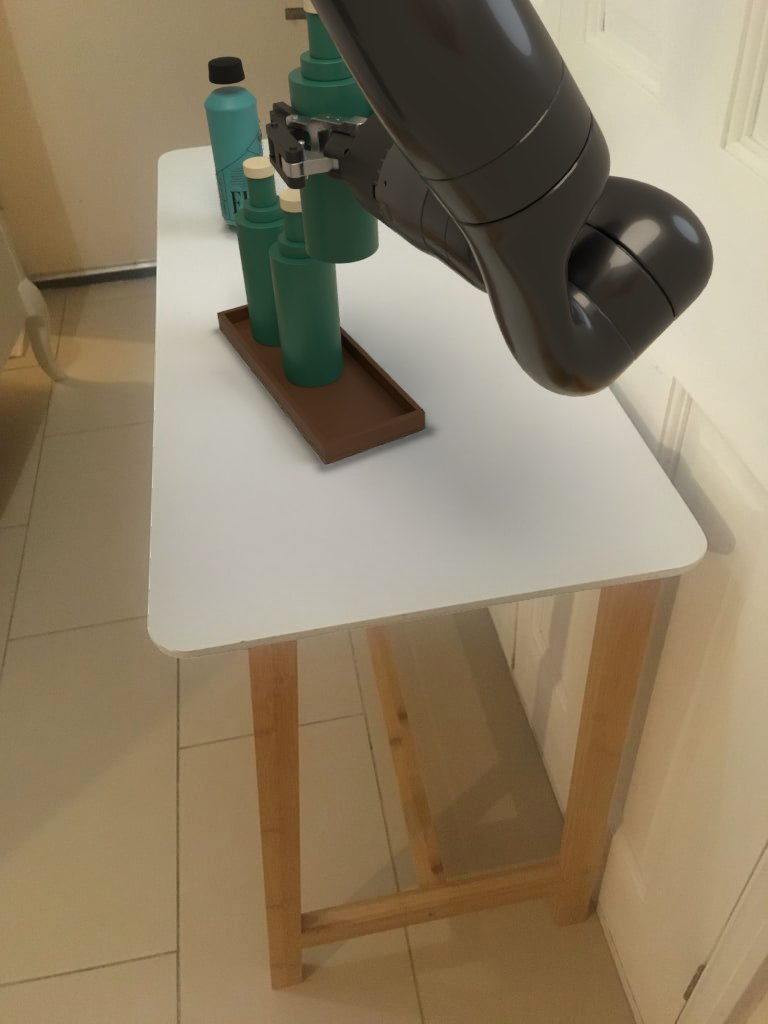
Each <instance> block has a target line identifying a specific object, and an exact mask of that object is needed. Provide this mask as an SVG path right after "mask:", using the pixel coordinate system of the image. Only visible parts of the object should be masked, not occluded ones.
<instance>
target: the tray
mask: <svg viewBox="0 0 768 1024" xmlns="http://www.w3.org/2000/svg"><path fill="white" fill-rule="evenodd" d="M216 316H217V322H218V326H219V330H220V331H221V332H222V334H223V335H224V337H226V339H227V340H228V342H230V344H231V345H232V347H233V348H234V349H235V350H236V352H237V353H238V354H239V355H240V357H241V358H242V359H243V361H244V362H245V363H246V365H247V366H248V367H249V368H250V370H251V371H252V372H253V374H254V375H255V376H256V377H257V379H258V380H259V381H260V382H261V383H262V385H263V386H264V388H265V389H266V390H267V392H269V394H270V395H271V397H272V398H273V399H274V400H275V402H276V403H277V404H278V405H279V407H280V408H281V409H282V411H283V412H284V413H285V414H286V416H287V417H288V418H289V420H290V421H291V422H292V424H293V425H294V427H296V428H297V430H298V432H300V433H301V435H302V436H303V437H304V439H305V440H306V442H308V444H309V445H310V446H311V447H312V448H313V450H314V451H315V453H316V454H317V455H318V457H319V458H320V459H321V460H322V461H323V463H324V464H325V465H329V464H331V463H334V462H337V461H339V460H342V459H345V458H348V457H351V456H353V455H356V454H359V453H361V452H364V451H368V450H370V449H373V448H375V447H378V446H382V445H384V444H386V443H389V442H393V441H395V440H397V439H401V438H404V437H406V436H409V435H411V434H414V433H417V432H420V431H422V430H425V429H426V411H425V409H423V408H422V406H421V405H419V404H418V403H417V402H416V401H415V399H414V398H412V397H411V395H410V394H408V392H407V391H406V390H404V388H402V387H401V385H400V384H399V383H398V382H397V381H396V380H395V379H394V378H393V377H391V375H390V374H389V373H388V372H387V371H386V370H385V369H384V367H383V368H382V366H381V365H380V364H379V363H378V362H377V361H376V360H375V359H374V358H373V357H372V356H371V355H370V354H369V353H368V352H367V351H366V350H365V349H364V348H363V347H362V346H361V345H360V344H359V343H358V342H357V341H356V340H355V339H354V338H353V337H352V336H351V335H350V334H349V333H348V331H346V330H345V329H344V327H342V326H341V325H340V332H341V346H342V359H343V372H342V374H341V376H340V377H339V378H338V379H337V380H336V381H334V382H332V383H330V384H327V385H324V386H320V387H302V386H298V385H295V384H293V383H291V382H290V381H288V380H287V378H286V377H285V375H284V367H283V359H282V352H281V347H270V346H265V345H262V344H260V343H258V342H256V341H255V340H254V338H253V336H252V330H251V324H250V317H249V310H248V304H247V303H246V304H243V305H240V306H236V307H232V308H229V309H226V310H222V311H218V312H216Z"/></svg>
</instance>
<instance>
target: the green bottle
mask: <svg viewBox="0 0 768 1024" xmlns="http://www.w3.org/2000/svg"><path fill="white" fill-rule="evenodd" d="M302 5H303V11H304V12H305V16H306V28H307V40H308V50H306V51H304V52H302V53H301V54H300V55H299V64H300V66H298V67H295V68H293V69H292V70H291V71H290V72H289V73H288V74H287V76H288V77H287V80H288V81H287V82H288V90H289V101H290V106H291V107H292V108H293V109H295V110H296V111H298V112H299V113H301V114H302V116H307V117H311V118H313V117H315V116H317V115H319V114H322V113H327V114H332V115H336V116H341V117H346V118H352V117H354V116H359V117H364V118H368V117H370V116H371V115H372V114H373V110H372V108H371V107H370V105H369V103H368V102H367V100H366V99H365V97H364V95H363V94H362V92H361V90H360V88H359V87H358V85H357V83H356V82H355V80H354V78H353V76H352V74H351V73H350V71H349V69H348V67H347V66H346V64H345V62H344V60H343V58H342V56H341V55H340V53H339V51H338V49H337V47H336V46H335V44H334V42H333V40H332V38H331V37H330V35H329V33H328V31H327V30H326V28H325V26H324V24H323V22H322V21H321V19H320V17H319V15H318V14H317V12H316V10H315V8H314V7H313V5H312V3H311V1H310V0H302ZM332 131H333V130H330V129H329V135H331V133H332ZM305 134H306V145H310V146H311V140H310V134H309V132H307V131H305ZM300 199H301V209H302V219H303V229H304V238H305V248H306V252H307V254H308V255H309V256H310V257H311V258H313V259H315V260H318V261H321V262H325V263H333V264H336V265H338V264H339V265H341V264H342V265H344V264H352V263H356V262H360V261H364V260H366V259H367V258H370V257H371V256H373V255H375V253H376V252H378V250H379V248H380V242H379V241H380V237H379V220H378V219H377V218H376V217H374V216H373V215H372V214H370V213H369V212H368V211H367V210H365V209H364V208H363V207H362V206H361V205H360V203H359V202H358V201H357V199H356V198H355V196H354V194H353V193H352V191H351V189H350V188H349V186H348V185H347V183H346V182H344V181H340V180H336V179H332V178H330V177H329V176H328V175H327V174H326V172H323V173H317V174H312V175H308V179H306V186H305V187H304V188H301V189H300Z"/></svg>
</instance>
